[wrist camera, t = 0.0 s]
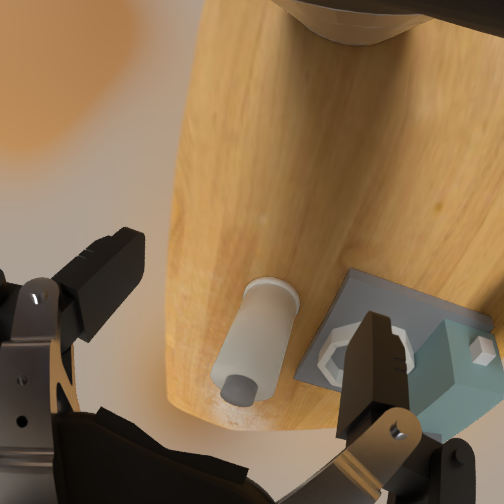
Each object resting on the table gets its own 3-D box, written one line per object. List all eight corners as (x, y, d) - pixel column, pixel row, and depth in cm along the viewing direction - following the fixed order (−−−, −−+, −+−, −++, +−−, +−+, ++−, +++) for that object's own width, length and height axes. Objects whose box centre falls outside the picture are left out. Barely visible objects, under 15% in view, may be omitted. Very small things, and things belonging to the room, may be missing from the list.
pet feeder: (352, 262, 29) (344, 363, 20) (499, 315, 27) (523, 402, 18) (295, 369, 40) (275, 447, 31) (416, 401, 38) (414, 473, 29)
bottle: (250, 268, 33) (204, 367, 23) (307, 287, 32) (281, 394, 22) (240, 308, 37) (199, 400, 27) (291, 325, 36) (263, 422, 26)
